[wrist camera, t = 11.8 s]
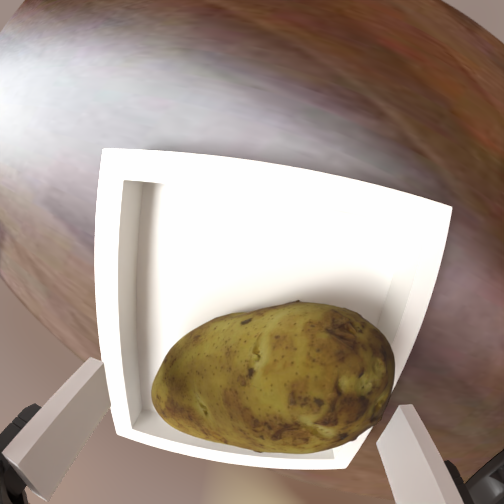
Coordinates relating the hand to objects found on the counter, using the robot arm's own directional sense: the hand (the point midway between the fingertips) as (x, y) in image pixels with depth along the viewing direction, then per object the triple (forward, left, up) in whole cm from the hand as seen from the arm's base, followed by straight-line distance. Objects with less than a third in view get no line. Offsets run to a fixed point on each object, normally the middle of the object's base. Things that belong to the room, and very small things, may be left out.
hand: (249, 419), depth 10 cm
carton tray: (0, 0, -8) cm, 8 cm away
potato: (0, 0, -7) cm, 7 cm away
